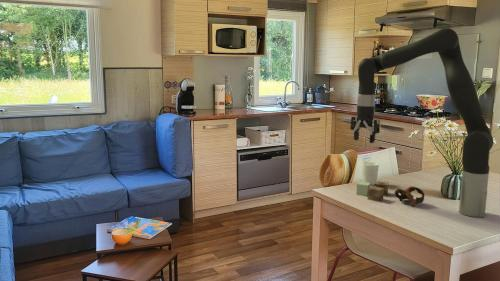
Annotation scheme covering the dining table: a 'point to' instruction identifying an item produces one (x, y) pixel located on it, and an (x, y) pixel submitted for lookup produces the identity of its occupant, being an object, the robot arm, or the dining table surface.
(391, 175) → the dining table surface
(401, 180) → the dining table surface
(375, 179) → the white cup
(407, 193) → the brown looped ring sculpture
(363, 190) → the plain block
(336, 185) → the dining table surface
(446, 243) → the dining table surface
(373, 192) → the walnut block two
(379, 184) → the walnut block one
